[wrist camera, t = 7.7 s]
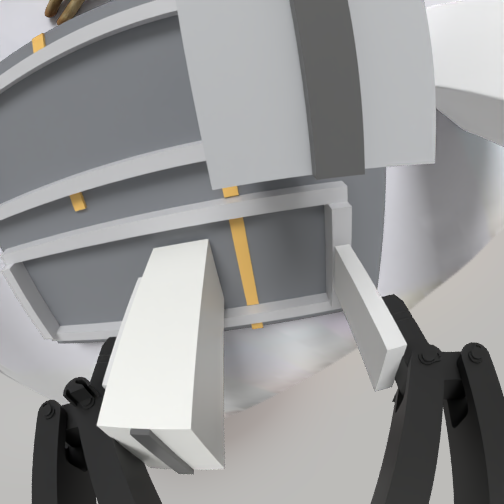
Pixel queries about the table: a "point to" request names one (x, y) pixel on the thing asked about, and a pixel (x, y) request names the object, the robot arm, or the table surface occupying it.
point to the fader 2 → (309, 86)
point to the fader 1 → (171, 365)
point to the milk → (470, 64)
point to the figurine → (68, 13)
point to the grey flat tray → (151, 186)
